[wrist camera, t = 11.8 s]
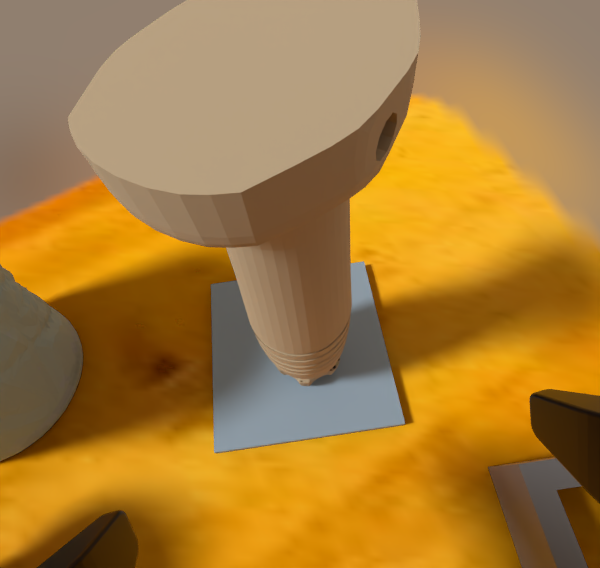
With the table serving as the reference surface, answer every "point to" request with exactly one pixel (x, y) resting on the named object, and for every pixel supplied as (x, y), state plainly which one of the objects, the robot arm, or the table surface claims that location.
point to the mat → (286, 390)
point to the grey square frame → (538, 512)
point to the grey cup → (33, 366)
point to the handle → (258, 146)
